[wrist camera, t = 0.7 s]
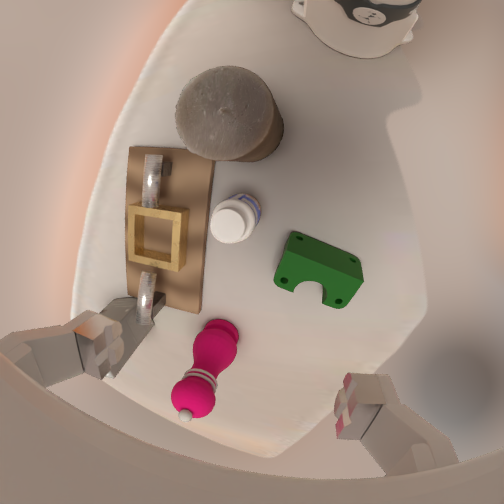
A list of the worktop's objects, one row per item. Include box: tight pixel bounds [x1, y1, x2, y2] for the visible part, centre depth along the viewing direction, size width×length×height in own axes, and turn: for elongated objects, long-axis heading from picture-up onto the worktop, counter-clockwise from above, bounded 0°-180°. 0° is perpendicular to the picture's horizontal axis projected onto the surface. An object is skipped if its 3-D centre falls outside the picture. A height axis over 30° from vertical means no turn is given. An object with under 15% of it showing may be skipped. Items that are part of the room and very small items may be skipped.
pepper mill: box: [171, 319, 239, 422], centre depth 37 cm, size 7×7×20 cm
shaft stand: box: [125, 147, 215, 325], centre depth 38 cm, size 26×14×9 cm, turn 172°
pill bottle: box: [210, 194, 261, 244], centre depth 35 cm, size 5×5×10 cm
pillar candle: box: [175, 66, 284, 162], centre depth 28 cm, size 10×10×15 cm
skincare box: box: [99, 298, 154, 379], centre depth 42 cm, size 8×7×16 cm
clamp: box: [274, 232, 364, 309], centre depth 37 cm, size 12×6×9 cm, turn 65°
